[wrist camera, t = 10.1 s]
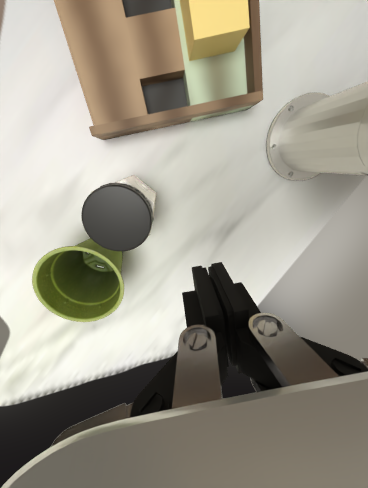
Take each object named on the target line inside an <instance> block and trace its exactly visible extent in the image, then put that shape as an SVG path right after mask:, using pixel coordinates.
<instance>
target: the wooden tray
mask: <svg viewBox="0 0 368 488" xmlns="http://www.w3.org/2000/svg"><path fill="white" fill-rule="evenodd" d="M54 2H55V5H56V9H57V12H58V15H59V18H60V21H61V24H62V27H63V31H64V34H65V37H66V40H67V43H68V46H69V49H70V52H71V56H72V59H73V62H74V65H75V68H76V71H77V74H78V78H79V81H80V84H81V87H82V90H83V93H84V96H85V99H86V103H87V106H88V109H89V112H90V115H91V118H92V121H93V125H94V126H91V127H89V128H90V131H91V135H92V136H94V137H97V138H100V139H102V140H106V139H110V138H115V137H120V136H125V135H129V134H134V133H139V132H144V131H148V130H153V129H158V128H163V127H167V126H172V125H177V124H182V123H186V122H191V121H196V120H201V119H205V118H210V117H215V116H220V115H224V114H229V113H234V112H239V111H243V110H247V109H249V108H251V107H252V106H254V105H255V104H257V103H259V102H260V101H262V100H263V88H262V63H261V38H260V12H259V0H248V10H249V26H250V28H249V29H248V31H247V33H246V34H245V36H244V37H243V39H242V40H241V42H240V44H239V45H238V47H237V48H236V50H235V51H233V52H229V53H224V54H220V55H215V56H211V57H206V58H202V59H197V60H193V61H189V57H188V51H187V44H186V38H185V32H184V25H183V19H182V12H181V6H180V0H54Z"/></svg>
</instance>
